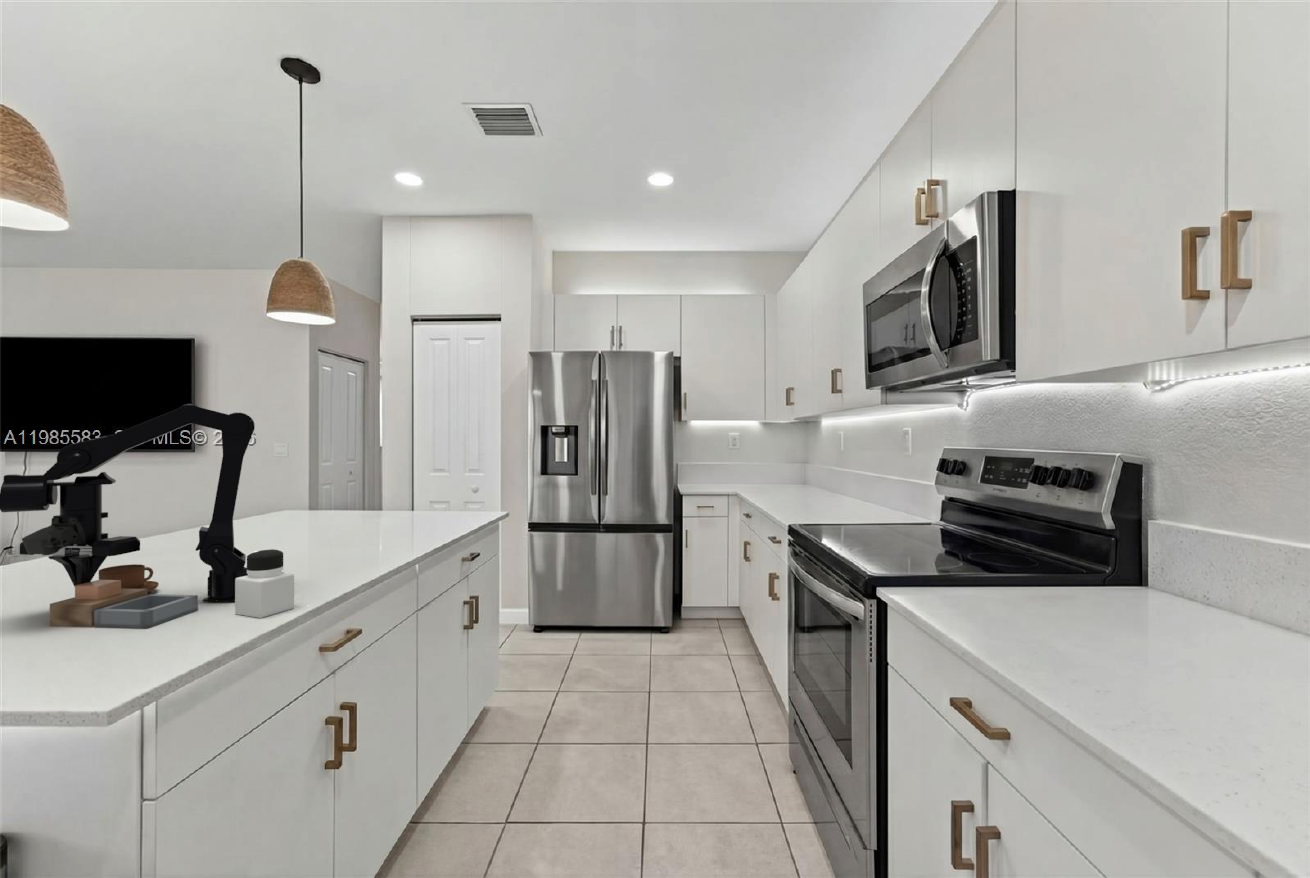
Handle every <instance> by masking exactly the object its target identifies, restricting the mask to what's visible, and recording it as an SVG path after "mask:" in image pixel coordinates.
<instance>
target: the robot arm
mask: <svg viewBox="0 0 1310 878" xmlns="http://www.w3.org/2000/svg"><path fill="white" fill-rule="evenodd" d="M192 424H193V425H197V426H201V427H205V428H210V429H213V430H217V431H221V445H222V447H221V448H222V458H221V464H220V471H219V472H220V473H219V476H218V482H217V487H216V488H217V489H216V494H215V500H214V504H213V505H214V506H213V512H212V518H211V521H210V524H209V525H208V527H205V526H201V527H200V528H199V530H198V543H197V546H196V547H195V551H196V552H197V551H199V552H198V556H199V559H200V561H202V562H203V563H204V564H205V565H208V566H210V567H211V569H210V570H208V577H207V597H205V598H202V602H212V603H213V602H214V603H215V602H216V603H233V602H235V579H236V578H238V577H243V576H247V575H249V574H247V567H245V565H246V563H247V556H246V554H245V553H244V552H242V551H241V550H240V549H238V548H237V547H235V534H234V531H235V529H234V515H235V507H236V503H237V498H238V497H237V496H238V490H239V485H240V478H241V474H242V468H243V461H244V456H245V454H246V451H247V449H248V447H249V444H250V442H251V439H252V437H253V434H254V431H255V421H254V420H253V418H252V417H251V416H250V415H248V414H246V413H244V412H233V413H230V414H228V413H224V412H219V411H216V410H211V409H208V408H203V407H199V406H198V405H195V404H192V403H187V404H182V405H180V406H179V407H178V408H176V409H173V410H171V411H168V412H166V413H162V414H161V415H158V416H155V417H153V418H150V419H148V420H145V421H143V422H140V423H138V424H135V425H133V426H131V427H128V428H125V429H124V430H120V431H118V432H116V433H115V432H114V433H113V434H108V435H104V436H99V437H96V438H92V439H86V440H83V441H80V442H74V443H71V444H68V445H65V446H63V447H62V448H60V450H58V453H57V456H56V462H55V463H54V464H53V465H52V466H51V467H50V468H49V469H48V470H46V471H45V473H44V474H28V475H26V474H25V475H23V474H14V473H13V474H5V475H4V476H3V481H2V484H1V486H0V512H1V513H14V512H15V513H18V512H19V513H20V512H22V513H23V512H39V511H48V509H49V508H50V505H54V506H55V505H56V504H57V502H58V496H59V515H58V514H57V515H53V516H52V517H51V524H50V525H48V526H47V527H43V528H40V529H38V530H36V531H34V532H32V533H29V534H28V535H26V536H24V537H22V538H21V541H22V542H21V543H20V544H19V555H26V556H27V555H28V556H34V555H42V556H48V557H47V558H48V559H49V560H54V561H55V562H57V563H60V565H62V566H63V568H64V569H65V571H66V572H67V574H68V577H69V578H70V580H71V583H72V585H73V586H74V588H75V586H76V585H80V584H84V583H88V582H92V580H93V579H94V577H95V575H96V573H98V572H97V571H99V570H100V567H101V566H102V564H103V563H104V562H105V561H106V559H107V558H108V557H115V556H120V555H125V554H128V553H129V554H130V553H133V552H138V551H141V540H140V538H138V537H137V536H127V535H126V536H122V535H121V536H114V537H109V533H107V532H103V519H106V518H107V519H108V518H109V512H108V511H107V512H106V511H103V503H102V502H103V501H102V500H103V497H102V496H103V491H102V490H103V485H104V486H105V485H113V484H115V483H116V482H117V480H116V479H115V478H112V477H111V476H110V475H108V474H107V472H106V471H101V472H100V473H99V474H98V475H85V476H83V475H82V474H85V473H89V472H93V471H96V470H97V469H99V468H101V467H102V466H104V465H105V464H108V463H109V462H111V461H113V460H114V459H115V458H117V457H119V456H120V455H122V454H123V453H125V452H126V451H128V450H130V449H133V448H135V447H137V446H140V445H143V444H145V443H148V442H150V441H152V440H154V439H158V438H160V437H162V436H164V435H167V434H169V433H172V432H174V431H176V430H179V429H181V428H183V427H186V426H188V425H192ZM80 474H81V476H80ZM73 475H78V476H76V477H75V479H74V481H58V480H61V479H66V478H69V477H71V476H73ZM55 481H56V482H55ZM58 487H59V491H58Z"/></svg>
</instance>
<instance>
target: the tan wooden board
mask: <svg viewBox="0 0 1310 878" xmlns="http://www.w3.org/2000/svg"><path fill="white" fill-rule="evenodd" d="M148 594H149V593H148V589H129V588H121V593H120V594H116V595H112V596H109V597H105V598H102V599H98V600H93V599H75V596H74V597H70V598H67V599H64V600H63V599H62V600H60V601H55V602H52V603H49V626H50V627H74V628H75V627H77V628H78V627H79V628H81V627H82V628H93V627H94V610H98V609H101V608H104V607H108V606H111V605H115V604H118V603H121V602H125V601H128V600H131V599H135V598H138V597H142V596H145V595H148Z"/></svg>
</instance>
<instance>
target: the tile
mask: <svg viewBox="0 0 1310 878" xmlns="http://www.w3.org/2000/svg"><path fill="white" fill-rule="evenodd" d="M120 593H121V580H99V579H95V580H93V581H92V580H91V582H88V583H84V584H80V585H76V586H75V587H74V597H75V599H93V600H98V599H102V598H105V597H109V596H112V595H116V594H120Z"/></svg>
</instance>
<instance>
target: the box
mask: <svg viewBox="0 0 1310 878" xmlns="http://www.w3.org/2000/svg"><path fill="white" fill-rule="evenodd" d="M198 601H199V595H197V594H167V593H166V594H162V593H161V594H160V593H159V594H158V593H148V595H145V596H142V597H138V598H135V599H131V600H128V601H125V602H121V603H118V604H115V605H111V606H108V607H104V608H101V609H98V610H94V626H93V627H94V628H106V629H107V628H111V629H112V628H113V629H117V628H118V629H142V630H143V629H144V630H145V629H150V628H153V627H155V626H158V625H161V624H163V623H167V622H169V621H172V620H175V619H177V618H180V617H183V616H186V615H188V614H191V613H194V612H197V611H198V610H199V602H198Z"/></svg>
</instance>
